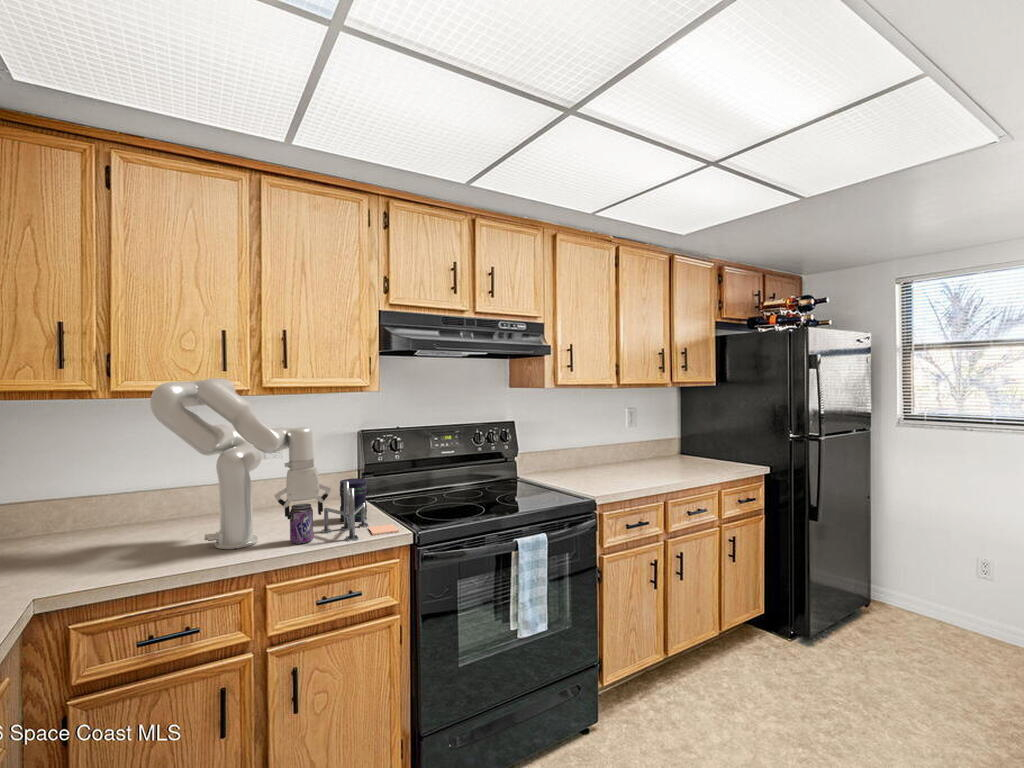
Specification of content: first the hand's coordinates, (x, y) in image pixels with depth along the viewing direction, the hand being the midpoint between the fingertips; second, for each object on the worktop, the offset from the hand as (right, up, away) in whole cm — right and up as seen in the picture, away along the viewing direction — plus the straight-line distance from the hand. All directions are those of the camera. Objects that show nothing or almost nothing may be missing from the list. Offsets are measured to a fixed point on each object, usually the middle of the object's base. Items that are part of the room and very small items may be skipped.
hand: (304, 516), depth 176 cm
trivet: (+23, -8, +12) cm, 27 cm away
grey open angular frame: (+12, -8, +8) cm, 17 cm away
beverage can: (-1, -9, 0) cm, 9 cm away
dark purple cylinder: (+9, -8, +26) cm, 29 cm away
